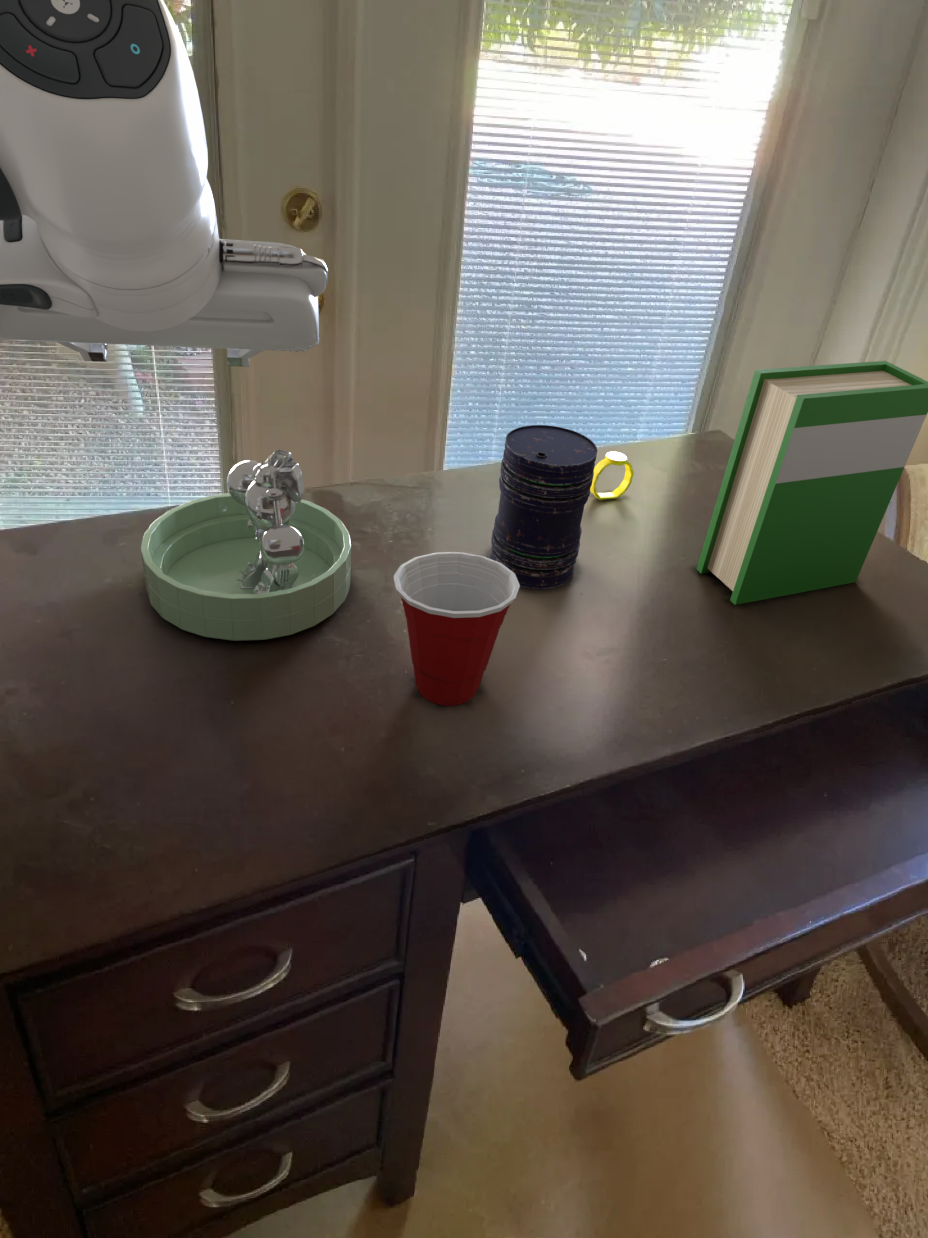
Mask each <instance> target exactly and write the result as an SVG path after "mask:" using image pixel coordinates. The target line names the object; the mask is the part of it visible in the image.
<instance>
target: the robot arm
mask: <svg viewBox="0 0 928 1238" xmlns="http://www.w3.org/2000/svg"><path fill="white" fill-rule="evenodd" d="M201 105H202V104H201V100H200V96H199V90H198V86H197V82H196V78H195V73H194V70H193V66H192V63H191V60H190V57H189V54H188V51H187V48H186V46H185V43H184V41H183V38H182V35H181V32H180V31H179V28H178V26H177V24H176V22H175V20H174V18H173V16H172V14H171V12H170V10H169V8H168V6H167V4H166V2H165V0H0V339H1V340H4V341H5V340H6V341H28V342H52V343H57V344H59V345H62V346H64V347H66V348H68V349H70V350H73V351H74V352H77V353H79V354H80V356H81V358H82V360H83V361H84V362H94V363H95V362H96V363H97V362H102V363H104V362H105V363H106V362H108V359H109V355H108V352H107V351H108V350H109V345H123V346H124V345H125V346H126V345H128V346H148V347H149V346H151V347H174V348H175V347H176V348H200V349H201V348H202V349H225V350H226V360H227V366H228V367H238V368H239V367H240V368H250V367H251V366H250V365H251V364H250V363H251V360H250V359H252V358H254V357H255V356H258V355H259V354H260V353H262V352H264V351H275V352H276V351H277V352H295V353H297V352H299V353H301V352H302V353H303V352H306V351H309V350H311V349H313V348H314V347H316V346H318V344H319V343H320V316H319V315H320V313H319V296H321V295H322V294H323V293H324V292H325V290H326V288H327V285H328V279H329V278H328V277H329V269H328V267H327V264H326V262H325V260H324V259H322V258H317V257H315V256H312V255H309V254H306V253H305V252H304V251H303V249H302V248H299V247H296V246H295V245H292V244H286V243H283V242H282V243H281V242H274V241H258V240H257V241H256V240H243V239H226V238H220V235H219V226H218V218H217V212H216V211H217V210H216V205H215V199H214V195H213V191H212V188H211V185H210V183H209V180H208V169H209V154H208V152H209V150H208V144H207V135H206V130H205V129H206V128H205V123H204V116H203V111H202V106H201Z"/></svg>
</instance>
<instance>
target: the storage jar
mask: <svg viewBox="0 0 928 1238" xmlns="http://www.w3.org/2000/svg"><path fill="white" fill-rule="evenodd" d="M597 456H598V447H597V445H596V443H595V442H594V441H593V440H592V439H590V438H589V437H588V436H586V435H584V434H582V433H580V432H577V431H575V430H573V429H570V428H566V427H561V426H555V425H549V424H548V425H547V424H532V425H531V424H530V425H524V426H519V427H516V428H514V429H512V430H511V431H509V432H508V433H507V434H506V436H505V440H504V450H503V454H502V459H501V463H500V476H499V479H498V483H499V484H498V485H499V487H498V489H499V491H500V495H499V501H498V510H497V514H496V515H495V517H494V523H493V528H492V532H491V539H490V541H491V542H490V543H491V544H490V545H491V547H490V548H491V549H490V555H489V559H492V560H494V561H497V562H500V563H502V564H503V565H504V566H506V567H507V568H508V569H510V570H511V571H512V572H513V573H515V575H516V577H517V580H518V582H519V584H520V587H519V588H525V589H530V590H551V589H556V588H559V587H561V586H563V585H566V584H567V583H569V581H570V580H571V579H572V578H573V576H574V572H575V564H576V563H577V562H576V561H577V558H578V556H579V552H580V546H581V538H582V531H583V530H582V520H583V515H584V512H585V511H584V510H585V506H586V504H587V503H588V501H589V497H590V496H591V491H590V487H591V486H592V481H593V476H594V467H595V466H596V460H597Z"/></svg>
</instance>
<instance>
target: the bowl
mask: <svg viewBox="0 0 928 1238" xmlns="http://www.w3.org/2000/svg"><path fill="white" fill-rule="evenodd" d="M248 521H249V517H248V515H247V512H246V507H245V506H244V505H241V504H240V503H238V502H236V501H235V500H234V499H233V498H232V496H231V495H230V493H229V492H227V493H221V494H220V493H219V494H212V495H209V496H204V497H200V498H197V499H196V498H195V499H193V500H190V501H187V502H185V503H183V504H181V505H178V506H176V507H174V508H171V509H169V510H167V511H166V512H165V513H164V514H162V515H161V516H159V517H158V518H157V519H155V520H154V521H153V522H152V523H151V524H150V525H149V527H148V528H147V529H146V531H145V532H144V533H143V536H142V540H141V545H140V555H141V562H142V569H143V577H144V584H145V589H146V593H147V597H148V601H149V604H150V606H152V608H153V609H154V610H155V611H156V612H157V613H158V615H159V616H160V617H161V618H162V619H163V620H165V621H167V622H168V623H170V624H172V625H173V626H175V627H177V628H179V629H180V630H181V631H186V632H187V633H188V632H189V633H192V634H195V635H198V636H201V637H205V638H209V639H210V638H212V639H217V640H226V641H235V642H236V641H237V642H239V641H262V640H263V641H265V640H271V639H276V638H281V637H286V636H291V635H294V634H296V633H299V632H302V631H304V630H305V631H306V630H307V629H310V628H313V627H315V626H317V625H318V624H320V623H321V622H323V621H325V620H326V619H327V618H329V617H331V616H333V615H334V613H335V612H336V611H337V610H338V609H339V608H340V607H341V605H342V604H343V603H345V601H346V599H347V596H348V594H349V591H350V587H351V573H352V571H351V567H352V566H351V565H352V544H351V543H352V542H351V535H350V532H349V530H348V529H347V527H346V525H345V524H344V523H343V521H342V520H341V519H340V518H339V517H337V516H336V515H335V514H333V512H330V510H329V509H327V508H325V507H322V506H320V505H318V504H317V503H314V502H312V501H309V500H306V499H303V498H302V500H301V502H300V503H295V513H294V516H293V517H292V518H291V520H290V522H289V523H288V524H287V525H288V526H292V527H294V528H296V529H297V530H298V531H299V532H300V534H301V535H302V538H303V541H304V551H303V554H302V556H301V558H300V559H299V560H298V561H296V562H295V564H296V565H297V567H298V570H299V574H298V577H297V579H296V581H295V582H294V584H293V585H291V586H292V587H293V588H290V589H286V590H277V591H274V592H269V593H263V594H251V593H252V591H253V589H254V588H251V589H241V588H240V586H241V581H236V580H237V579H241V578H242V577H243V576H244V575H243V574H241V573H240V572H239V570H241V571H245V570H246V568H247V567H248V564H247V563H249V564H252V563H253V562H255V560H256V556H257V554H258V552H259V551H261V539H260V543H258V540H257V539H255V536H254V526H253V525H252V526H251V527H250V528H247V523H248ZM262 536H263V535H262Z"/></svg>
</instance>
